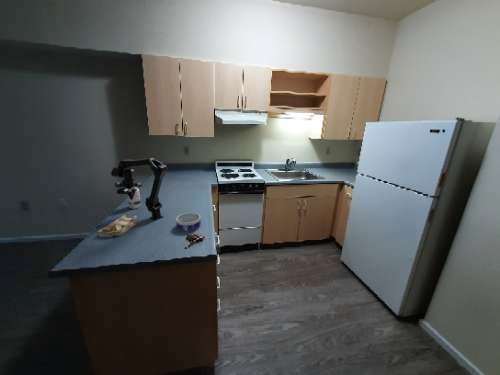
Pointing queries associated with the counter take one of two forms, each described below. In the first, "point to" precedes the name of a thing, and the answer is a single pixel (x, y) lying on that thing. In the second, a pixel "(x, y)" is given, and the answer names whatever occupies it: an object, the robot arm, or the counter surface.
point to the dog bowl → (188, 221)
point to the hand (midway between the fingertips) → (131, 199)
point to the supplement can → (135, 200)
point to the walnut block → (110, 228)
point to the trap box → (120, 226)
